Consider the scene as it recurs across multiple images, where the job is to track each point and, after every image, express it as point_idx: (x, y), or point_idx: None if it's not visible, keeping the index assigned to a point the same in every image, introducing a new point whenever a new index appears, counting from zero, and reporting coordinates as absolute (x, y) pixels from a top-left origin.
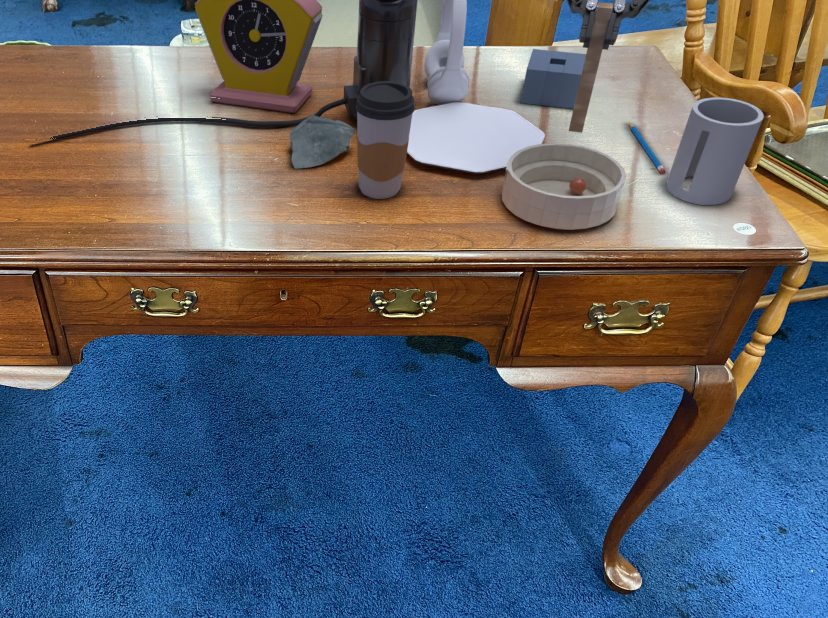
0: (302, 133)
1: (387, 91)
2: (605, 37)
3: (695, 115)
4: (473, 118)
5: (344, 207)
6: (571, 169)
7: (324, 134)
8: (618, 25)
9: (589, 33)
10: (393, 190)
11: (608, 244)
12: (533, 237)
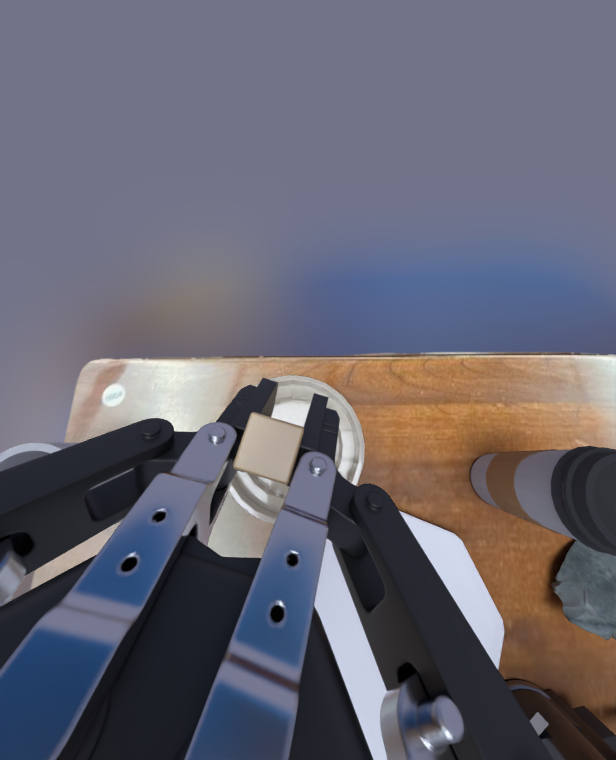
0: None
1: None
2: (275, 385)
3: None
4: (375, 712)
5: (524, 437)
6: (269, 493)
7: (610, 595)
8: (231, 407)
9: (317, 402)
10: (481, 458)
11: (260, 366)
12: (330, 378)
